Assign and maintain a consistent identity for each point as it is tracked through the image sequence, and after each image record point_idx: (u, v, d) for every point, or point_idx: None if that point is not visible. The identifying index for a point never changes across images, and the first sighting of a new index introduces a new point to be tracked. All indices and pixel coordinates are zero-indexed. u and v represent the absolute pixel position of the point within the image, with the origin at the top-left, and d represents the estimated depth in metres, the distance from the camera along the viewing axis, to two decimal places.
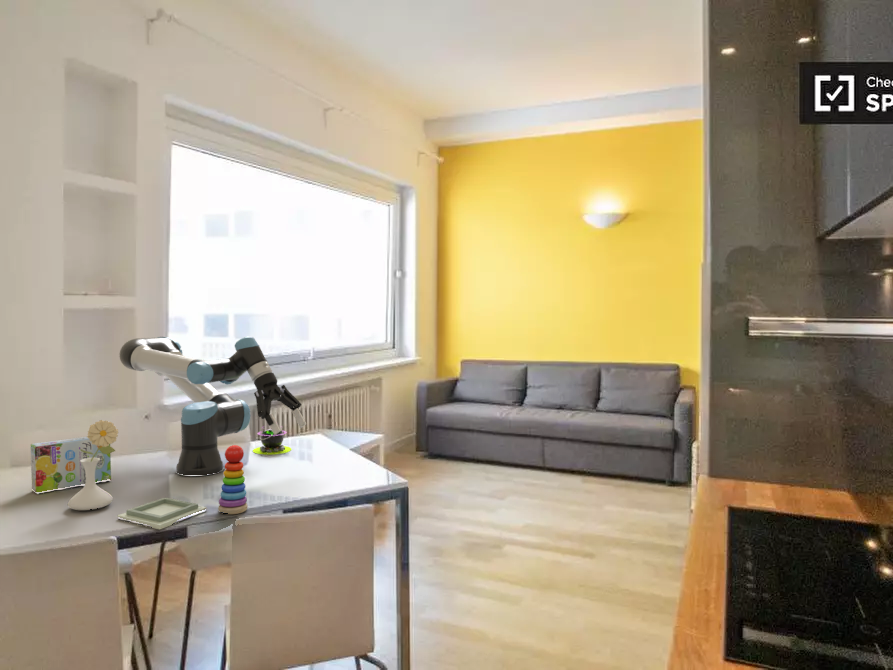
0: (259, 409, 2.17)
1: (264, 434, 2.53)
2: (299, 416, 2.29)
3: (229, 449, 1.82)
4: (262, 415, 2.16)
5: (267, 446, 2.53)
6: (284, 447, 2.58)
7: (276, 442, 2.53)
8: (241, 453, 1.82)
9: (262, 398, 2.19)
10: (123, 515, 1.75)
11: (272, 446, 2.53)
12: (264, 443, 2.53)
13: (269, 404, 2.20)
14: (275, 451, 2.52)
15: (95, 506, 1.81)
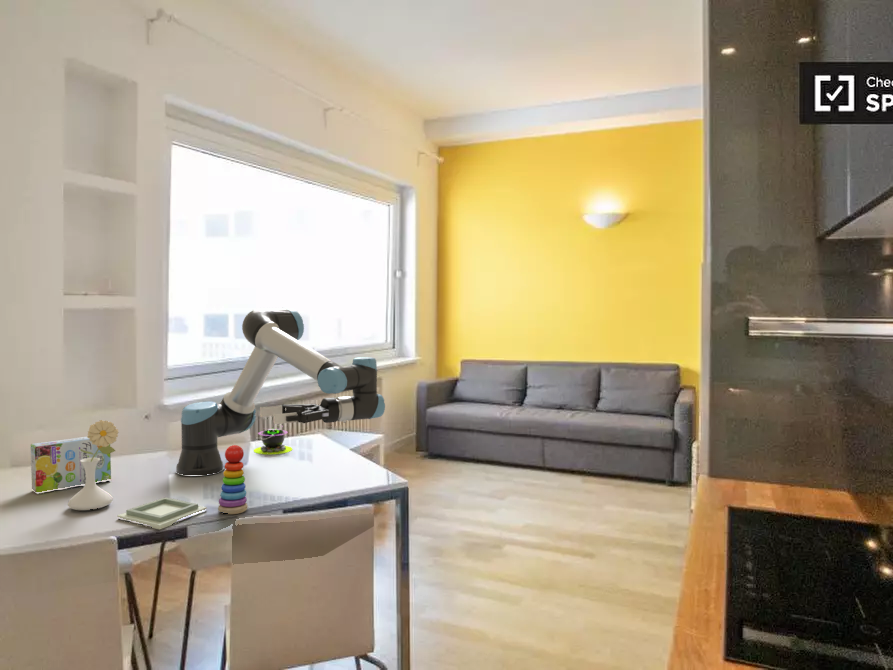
0: (309, 417, 1.85)
1: (265, 434, 2.53)
2: (272, 413, 1.95)
3: (229, 449, 1.82)
4: (301, 418, 1.83)
5: (268, 446, 2.54)
6: (285, 447, 2.58)
7: (277, 442, 2.53)
8: (241, 453, 1.82)
9: (317, 419, 1.88)
10: (123, 515, 1.75)
11: (273, 446, 2.53)
12: (265, 443, 2.53)
13: None
14: (276, 451, 2.52)
15: (95, 506, 1.81)
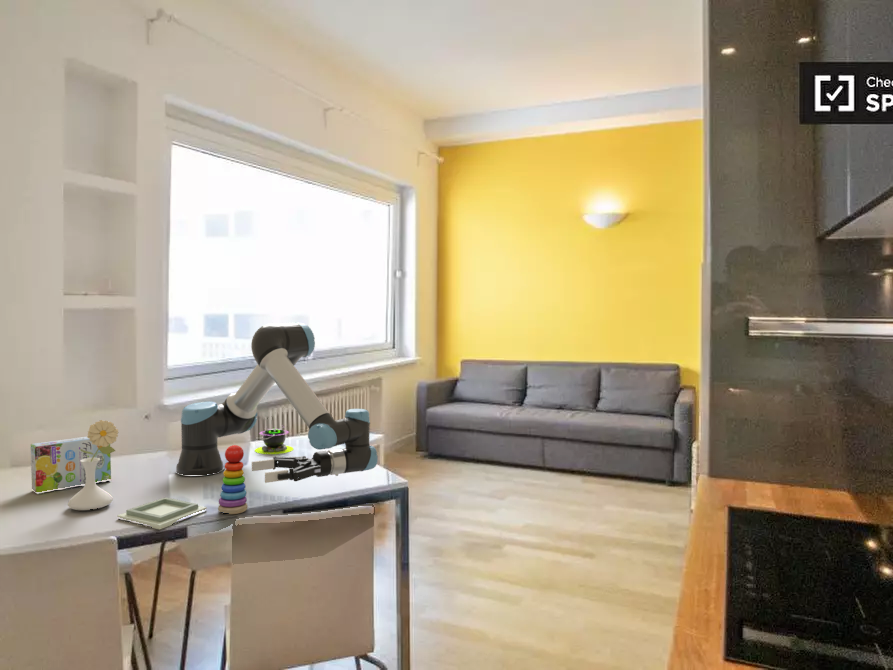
0: (301, 475, 1.84)
1: (266, 434, 2.54)
2: (264, 467, 1.94)
3: (229, 449, 1.82)
4: (293, 476, 1.82)
5: (269, 446, 2.54)
6: (286, 447, 2.58)
7: (278, 441, 2.53)
8: (241, 453, 1.82)
9: None
10: (123, 515, 1.75)
11: (274, 446, 2.54)
12: (266, 443, 2.54)
13: None
14: (277, 451, 2.53)
15: (95, 506, 1.81)
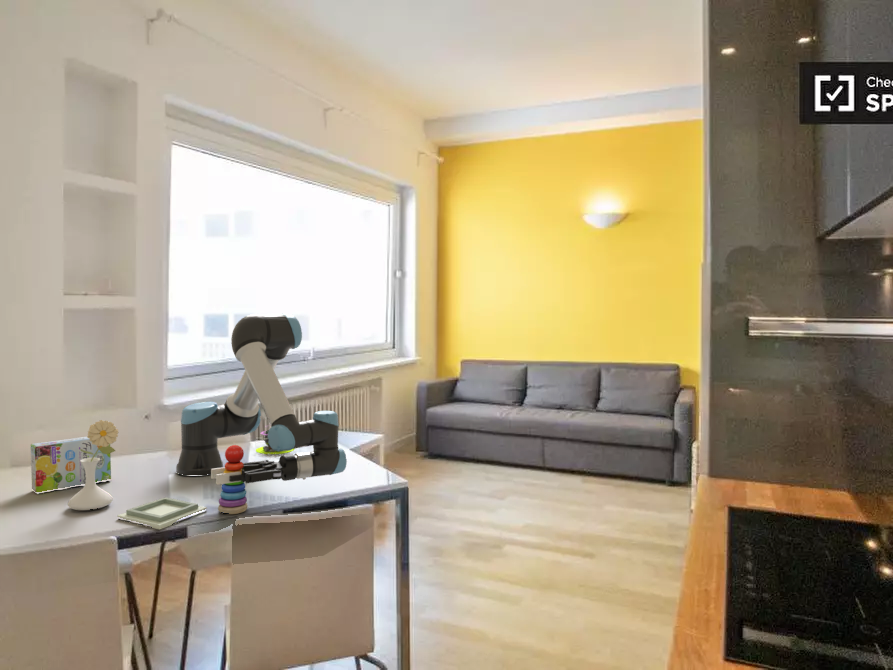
0: (254, 477, 1.80)
1: (267, 434, 2.54)
2: None
3: (229, 449, 1.81)
4: (245, 478, 1.79)
5: None
6: None
7: None
8: (241, 453, 1.82)
9: None
10: (123, 515, 1.75)
11: None
12: (267, 443, 2.54)
13: None
14: (278, 451, 2.53)
15: (95, 506, 1.81)
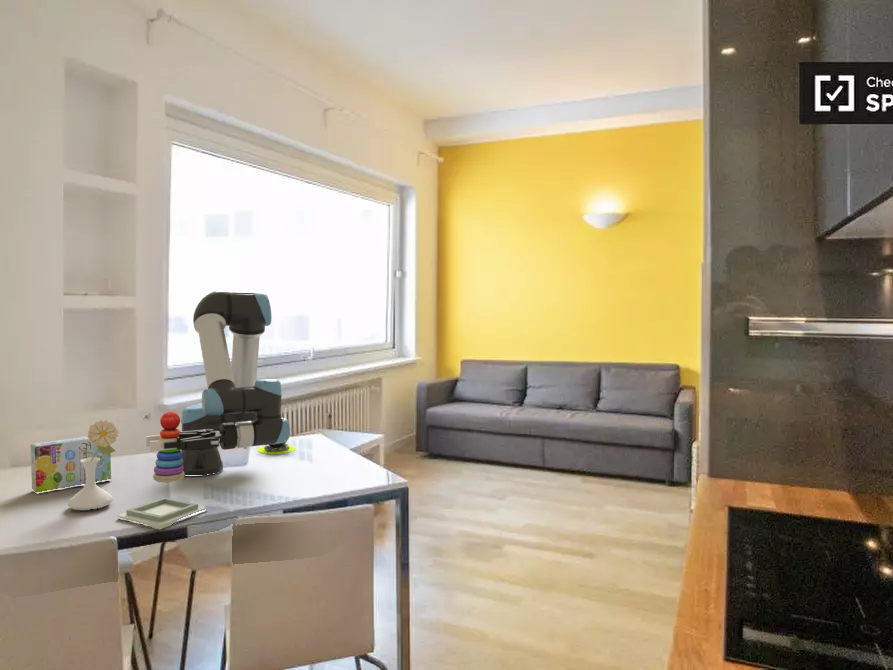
0: (190, 444, 1.75)
1: None
2: None
3: (164, 416, 1.76)
4: (180, 445, 1.74)
5: (271, 445, 2.55)
6: (288, 446, 2.59)
7: None
8: (177, 420, 1.77)
9: None
10: (123, 515, 1.75)
11: (276, 445, 2.54)
12: None
13: None
14: (279, 450, 2.53)
15: (95, 506, 1.81)
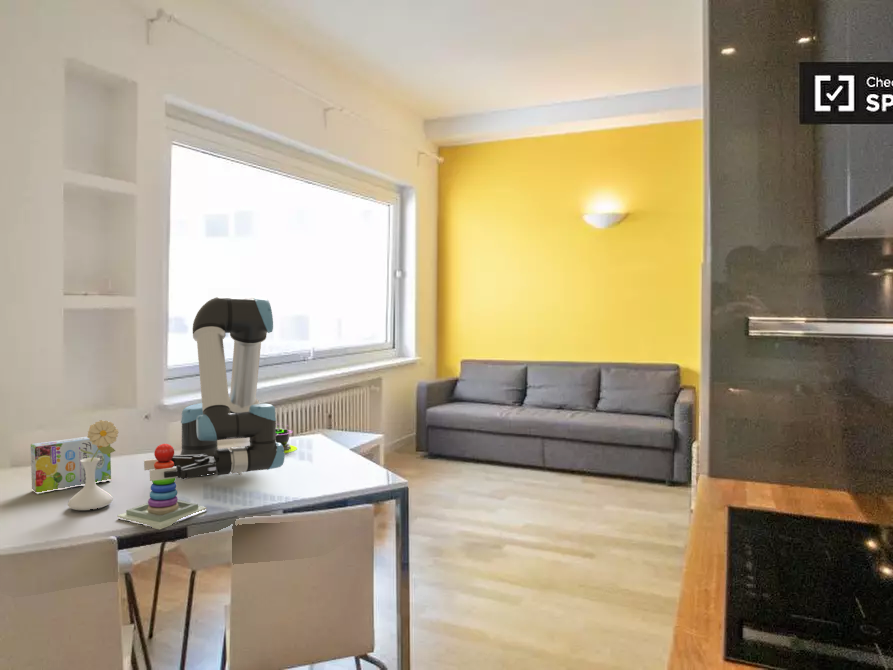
0: (190, 472, 1.74)
1: None
2: None
3: (158, 448, 1.77)
4: (180, 474, 1.73)
5: None
6: (290, 446, 2.59)
7: (281, 441, 2.54)
8: (171, 452, 1.77)
9: None
10: (123, 515, 1.75)
11: None
12: None
13: None
14: None
15: (95, 506, 1.81)
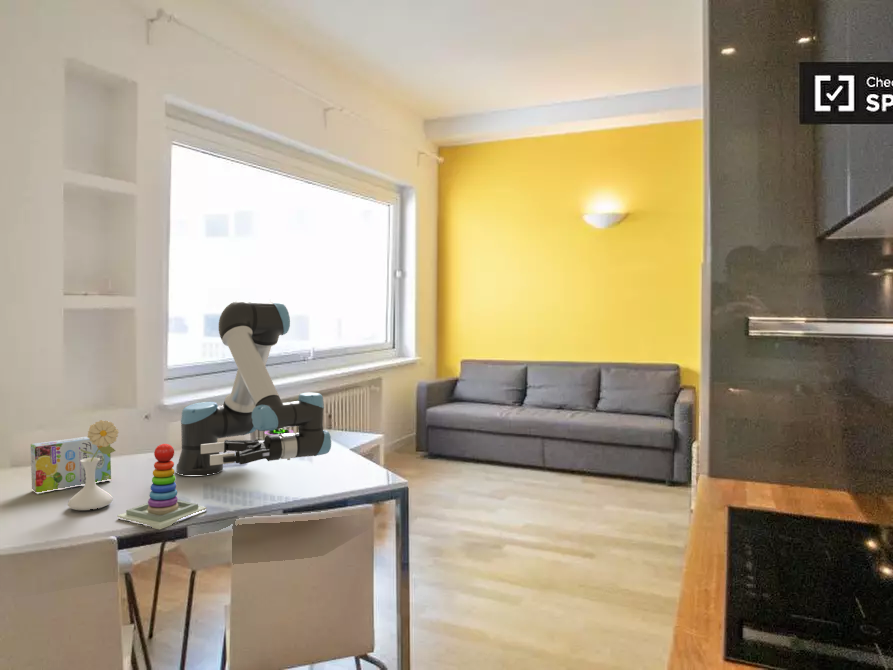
0: (247, 458, 1.81)
1: (271, 433, 2.55)
2: (213, 450, 1.91)
3: (158, 448, 1.77)
4: (239, 459, 1.79)
5: None
6: None
7: None
8: (171, 452, 1.77)
9: None
10: (123, 515, 1.75)
11: None
12: None
13: None
14: None
15: (95, 506, 1.81)
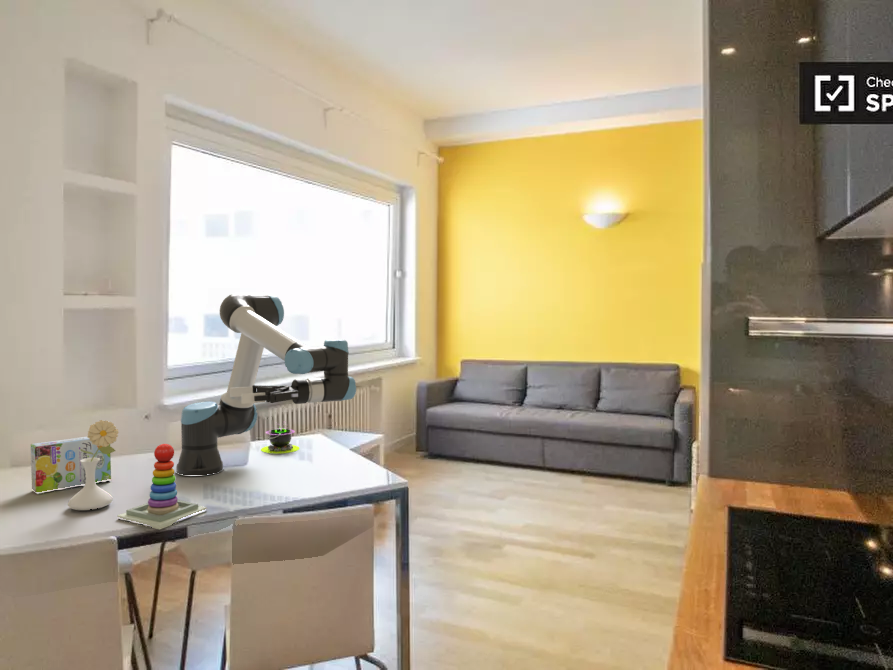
0: (278, 397, 1.85)
1: (272, 433, 2.55)
2: (242, 394, 1.96)
3: (158, 448, 1.77)
4: (270, 398, 1.84)
5: (275, 445, 2.55)
6: (292, 446, 2.59)
7: (284, 441, 2.55)
8: (171, 452, 1.77)
9: (286, 400, 1.89)
10: (123, 515, 1.75)
11: (280, 445, 2.55)
12: (272, 442, 2.55)
13: None
14: (283, 450, 2.54)
15: (95, 506, 1.81)
